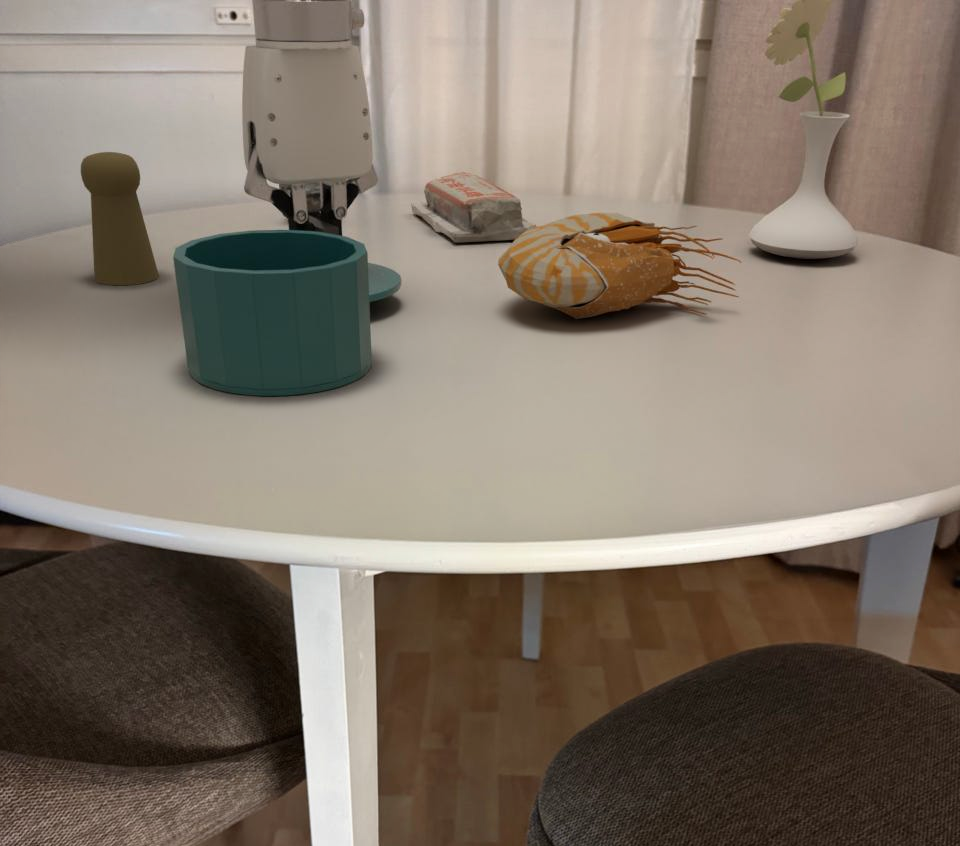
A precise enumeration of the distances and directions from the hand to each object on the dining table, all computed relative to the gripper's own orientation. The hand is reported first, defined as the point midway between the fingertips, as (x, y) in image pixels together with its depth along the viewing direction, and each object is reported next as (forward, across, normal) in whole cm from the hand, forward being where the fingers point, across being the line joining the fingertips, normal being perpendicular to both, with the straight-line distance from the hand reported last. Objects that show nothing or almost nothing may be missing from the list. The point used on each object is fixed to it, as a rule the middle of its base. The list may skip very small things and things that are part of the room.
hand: (317, 265), depth 94 cm
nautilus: (+4, -22, +15) cm, 27 cm away
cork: (+4, +12, -18) cm, 22 cm away
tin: (+3, +10, +14) cm, 18 cm away
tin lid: (+2, 0, 0) cm, 2 cm away
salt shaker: (+4, -15, -34) cm, 37 cm away
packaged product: (+4, -30, -22) cm, 37 cm away
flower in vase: (+4, -53, +7) cm, 54 cm away
